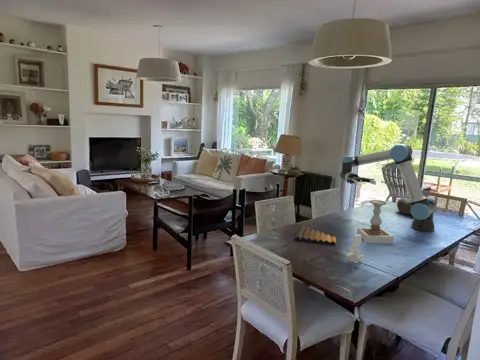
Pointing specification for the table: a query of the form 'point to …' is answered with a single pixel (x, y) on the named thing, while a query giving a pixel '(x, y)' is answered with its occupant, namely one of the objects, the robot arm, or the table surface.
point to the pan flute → (314, 236)
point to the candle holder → (376, 218)
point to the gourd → (404, 205)
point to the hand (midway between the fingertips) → (366, 182)
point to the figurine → (355, 250)
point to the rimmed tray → (375, 236)
